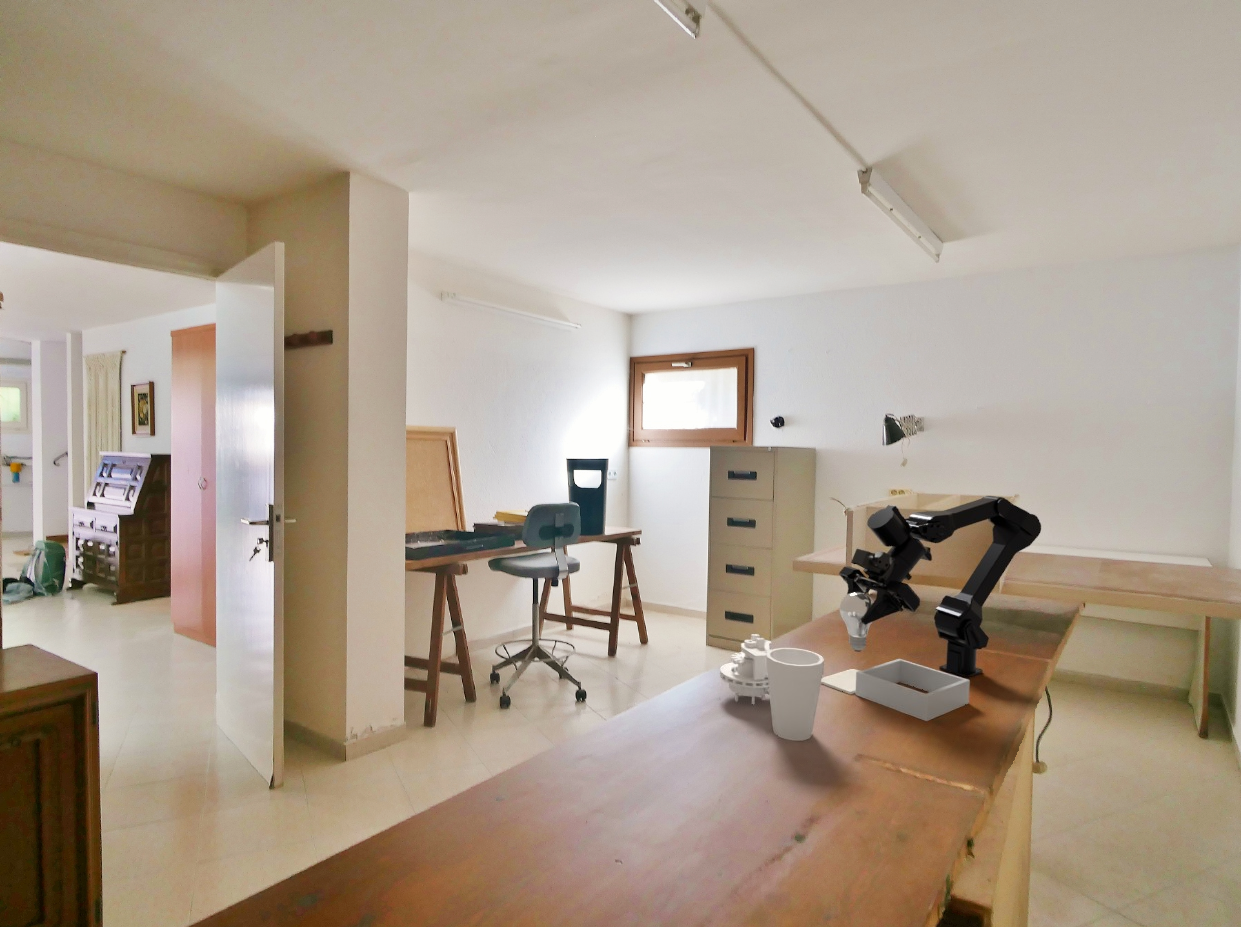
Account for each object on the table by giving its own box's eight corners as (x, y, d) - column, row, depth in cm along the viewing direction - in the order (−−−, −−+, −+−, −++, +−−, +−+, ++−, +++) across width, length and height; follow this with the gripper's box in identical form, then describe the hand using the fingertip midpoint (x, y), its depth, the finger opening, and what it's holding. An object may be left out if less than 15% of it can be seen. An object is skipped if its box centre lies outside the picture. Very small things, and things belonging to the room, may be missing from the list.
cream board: (852, 670, 149) (852, 668, 149) (886, 682, 142) (886, 679, 142) (816, 681, 142) (816, 679, 142) (850, 694, 135) (850, 691, 135)
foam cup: (822, 726, 121) (825, 652, 120) (819, 748, 112) (822, 669, 111) (767, 717, 124) (769, 645, 123) (760, 739, 115) (762, 661, 114)
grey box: (898, 680, 144) (899, 658, 144) (968, 703, 132) (969, 680, 132) (855, 694, 135) (856, 672, 135) (926, 721, 123) (927, 696, 123)
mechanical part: (720, 685, 139) (722, 627, 138) (782, 691, 136) (784, 631, 136) (717, 707, 127) (719, 644, 127) (785, 714, 125) (787, 649, 125)
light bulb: (870, 658, 136) (870, 596, 136) (834, 652, 140) (834, 592, 140) (880, 650, 142) (880, 591, 141) (845, 644, 146) (845, 587, 146)
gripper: (847, 528, 150) (802, 582, 147) (910, 542, 132) (860, 604, 129) (876, 563, 153) (832, 616, 150) (941, 581, 135) (893, 642, 132)
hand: (852, 618), depth 140 cm, fingers closed on light bulb, 6 cm apart
